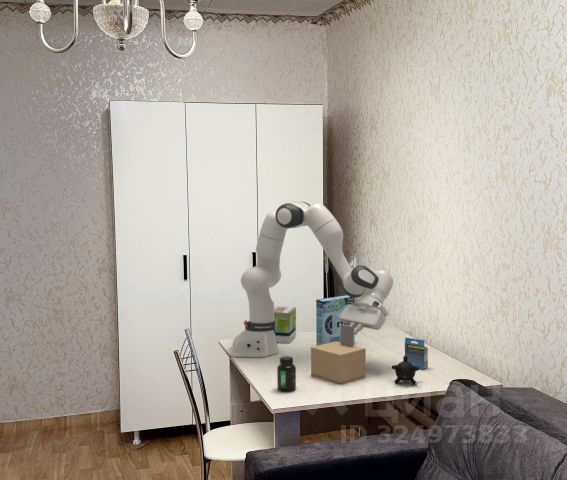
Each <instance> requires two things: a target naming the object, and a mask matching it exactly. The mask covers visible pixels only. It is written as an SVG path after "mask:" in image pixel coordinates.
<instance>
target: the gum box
mask: <svg viewBox="0 0 567 480" xmlns="http://www.w3.org/2000/svg"><path fill="white" fill-rule="evenodd" d="M355 299H356V298H352V297H349V296H348V295H346V294H345V295H338V296H332V297H325V298H319V299H316V300H315V303H316V305H315V307H316V310H315V311H316V313H315V314H316V315H315V316H316V319H315V321H316V322H315V323H316V325H315V329H316V332H315V333H316V334H315V335H316V337H315V339H316V344H315V346H318V345H322V344H327V343H331V342H335V341H337V342H341V325H342V324H343V325H348V326H351V324H347V323H343V322H342V321H341V320H340V317H339V316H340V314H341V313H342V312H343V310H344V309H345V308H346V307H347V306H348V305H349V304H352V303H355V304H356V302H355ZM355 337H356V335H354V334H353V345H355V344H356V341H355V339H356V338H355Z"/></svg>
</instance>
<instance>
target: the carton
mask: <svg viewBox="0 0 567 480" xmlns="http://www.w3.org/2000/svg"><path fill="white" fill-rule="evenodd" d="M366 352H367V350H366V351H363V352H359V353H356V354H352V355H348V356H345V357H337V356H333V355H329V354H325V353H321V352H318V351H314V350H311V349H310V369H311V370H310V372H311V373H310V375H311V376H310V377H314V378H316V379H317V378H318V379H320V380H323V381H328V382H331V383H334V384H337V385H341V386H342V385H345V384H348V383H351V382H354V381H357V380H361V379H364V378H366V373H367V372H366V367H367V366H366V360H367V359H366V354H367V353H366Z"/></svg>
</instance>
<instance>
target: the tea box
mask: <svg viewBox="0 0 567 480" xmlns="http://www.w3.org/2000/svg"><path fill="white" fill-rule="evenodd" d="M274 320H275V323H276V332H275V338H276V342H279V343H278V344H290V343H291V342H292V341H293V339H295V338H296V336H297V307H296V306H276V307H274Z"/></svg>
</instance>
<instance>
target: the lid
mask: <svg viewBox="0 0 567 480" xmlns="http://www.w3.org/2000/svg"><path fill="white" fill-rule="evenodd" d="M311 350H314V351H318V352H321V353H325V354H329V355H333V356H337V357H345V356H348V355H352V354H356V353H359V352H363V351H366V352H367V350H366V348H365V347H362V346H357V345H355V344H353V327H352V326H348V325H343V324H342V325H341V342H337V341H335V342H331V343H327V344H322V345H318V346H316V345H315V346H311V347H310V351H311Z"/></svg>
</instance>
